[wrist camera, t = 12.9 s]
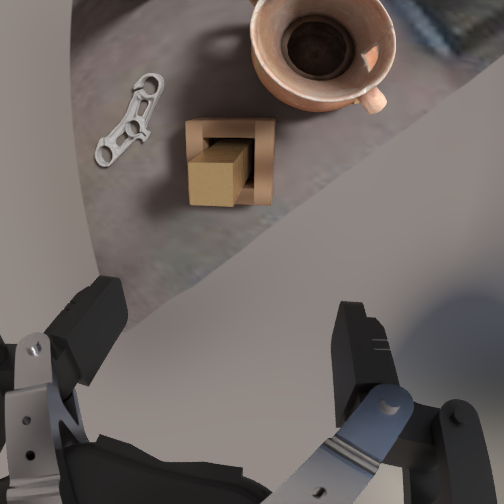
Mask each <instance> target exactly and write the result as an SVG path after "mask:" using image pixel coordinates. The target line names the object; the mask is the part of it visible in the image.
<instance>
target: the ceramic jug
mask: <svg viewBox="0 0 504 504" xmlns="http://www.w3.org/2000/svg"><path fill="white" fill-rule="evenodd" d="M249 1H250V2H251V3H252V4H253V5H254V6H255V8H254V10H253V12H252V16H251V21H250V39H251V44H252V45H251V56H252V62H253V66H254V68H255V71H256V73H257V75H258V77H259V79H260V81H261V82H262V84H263V85H264V86H265V87H266V89H267V90H268V91H269V92H270V93H271V94H272V95H274V96H275V97H276V98H277V99H279V100H280V101H282V102H284V103H285V104H287V105H290V106H292V107H295V108H297V109H300V110H304V111H310V112H327V111H333V110H337V109H341V108H343V107H346V106H348V105H350V104H358V103H361V104H362V105H363V106H364V108H365V109H366V111H367V112H368V113H369V114H375V113H377V112H379V111H381V110H382V109H383V108H384V106H385V105H386V103H387V100H386V99H385V97H384V95H383V94H382V93H381V92H380V90H379V89H378V88H377V87H376V86H377V85H378V84H379V83H380V82H381V81H382V80H383V79H384V78H385V76H386V75H387V73H388V72H389V70H390V68H391V66H392V64H393V61H394V58H395V52H396V38H395V32H394V28H393V24H392V21H391V19H390V17H389V15H388V13H387V11H386V10H385V8H384V7H383V5H382V4H381V3H380V1H379V0H249ZM378 44H379V56H378V51H377V45H378Z"/></svg>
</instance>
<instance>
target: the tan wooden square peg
mask: <svg viewBox="0 0 504 504" xmlns="http://www.w3.org/2000/svg"><path fill="white" fill-rule="evenodd" d="M251 171H252V140H220V141H219V142H217V143H216V144H214V145H213V146H211V147H210V148H208V149H207V150H205V151H204V152H202V153H201V154H199V155H198V156H197V157H195V158H194V159H192V160H191V161H189V162H188V176H189V195H190V205H204V206H227V207H233V206H234V204H235V202H236V200H237V198H238V196H239V194H240V192H241V190H242V188H243V186H244V184H245V182H246V180H247V178H248V176H249V175H250V173H251Z"/></svg>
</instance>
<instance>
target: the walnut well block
mask: <svg viewBox="0 0 504 504" xmlns="http://www.w3.org/2000/svg"><path fill="white" fill-rule="evenodd" d="M185 125H186V155H187V177H188V195H189V176H188V162H189V161H191V160H192V159H194V158H195V157H197V156H198V155H199V154H201V153H202V152H204V151H205V150H207V149H208V148H210V147H211V146H213V137H229V138H255V172H254V178H249V177H248V178H247V180H246V182H245V184H244V186H243V188H242V190H241V192H240V194H239V196H238V198H237V200H236V202H235V204H245V205H263V206H271V203H272V197H273V188H274V160H275V129H276V118H256V117H204V118H195V119H191V120H188V121H185ZM189 202H190V195H189Z"/></svg>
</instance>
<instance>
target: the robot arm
mask: <svg viewBox="0 0 504 504" xmlns="http://www.w3.org/2000/svg"><path fill="white" fill-rule="evenodd" d="M127 319H128V309H127V305H126V301H125V297H124V292H123V288H122V283H121V281H120V279H119V278H116V277H109V276H102V275H101V276H99V277H98V278H97V279H96V280H95V281H94V282H93V283H92V285H91V286H90V287H89V286H88V287H86V288H85V289H83V290H82V291H80V292H78V293H77V294H76V295H75V296H74V298H73V299H72V300H71V301H70V303H68V304H67V306H66V307H65V308H64V310H62V311H61V312H60V314H59V315H58V316H57V317H56V318H55V320H54V321H53V322H52V323H51V324H50V326H49V327H48V328H47V329H46V330H45V332H44V333H32V334H29V335H27V336H25V337H24V338H22V339H21V340H20V342H19V343H18V344H5V343H4V341H3V340H2V338H1V336H0V452H1V450H2V448H3V446H4V444H5V442H6V448H7V459H8V469H9V476H6V477H4V478H2V479H0V504H353V502H354V501H355V500H356V499H357V497H358V496H359V495H360V493H361V492H362V491H363V490H364V488H365V487H366V486H367V484H368V483H369V482H370V480H371V479H372V478H373V476H374V475H375V473H376V472H377V470H378V468H379V465H380V464H381V463H384V464H389V465H393V466H397V467H402V471H403V486H404V488H403V489H404V504H497V499H496V492H495V486H494V480H493V475H492V470H491V465H490V460H489V456H488V451H487V447H486V443H485V439H484V435H483V431H482V427H481V424H480V420H479V417H478V414H477V412H476V410H475V409H474V407H473V406H472V405H471V404H469V403H467V402H466V401H463V400H459V399H454V400H449V401H447V402H446V403H445V404H444V405H443V406H442V407H441V409H440V408H435V407H430V406H425V405H422V404H418V403H416V402H414V401H413V399H412V396H411V395H410V393H409V392H408V391H407V390H405V389H404V388H403V387H401V386H400V385H399V381H398V377H397V373H396V369H395V365H394V361H393V357H392V354H391V351H390V347H389V343H388V341H387V336H386V333H385V329H384V327H383V326H382V325H381V324H380V322H379V321H378V320H377V319H376V318H370V317H366V313H365V309H364V305H363V303H362V302H347V301H341V302H340V305H339V309H338V313H337V317H336V321H335V326H334V330H333V334H332V339H331V358H332V371H333V384H334V399H335V417H336V427H337V428H339V427H340V430H339V431H338V432H337V433H336V434H335V435H334V436H333V437H332V438H328V439H327V440H326V441H325V442H324V443H323V444H322V445H321V446H320V447H319V448H318V449H317V450H316V451H315V452H314V453H313V454H312V455H311V456H310V457H309V458H308V459H307V460H306V461H305V462H304V463H303V464H302V465H301V466H300V467H299V468H298V469H297V470H296V471H295V472H294V473H293V474H292V475H291V476H290V477H289V478H288V479H287V480H286V481H285V482H284V483H283V484H282V485H281V486H279V487H278V488H277V489H276V490H275V491H274V492H271V491H270V490H269V489H268V488H266V487H265V486H263V485H261V484H260V483H257V482H256V481H254V480H252V479H249V478H246V477H243V468H241V467H234V466H227V465H220V464H213V463H208V462H163V461H160V460H158V459H156V458H155V457H153V456H151V455H149V454H147V453H145V452H143V451H142V450H140V449H138V448H136V447H135V446H133V445H131V444H129V443H125V442H122V441H119V440H116V439H113V438H110V437H107V436H104V435H101V434H100V435H99V437H98V439H97V441H96V442H89V440H88V438H87V436H86V433H85V430H84V426H83V422H82V417H81V413H80V408H79V403H78V398H77V393H76V390H75V388H74V387H75V386H76V384H77V383H79V384H82V385H86V386H89V385H90V383H91V382H92V380H93V378H94V376H95V375H96V373H97V371H98V370H99V368H100V366H101V365H102V363H103V361H104V360H105V358H106V356H107V355H108V353H109V351H110V350H111V348H112V346H113V345H114V343H115V341H116V340H117V338H118V337H119V335H120V333H121V332H122V330H123V329H124V327H125V325H126V323H127Z"/></svg>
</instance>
